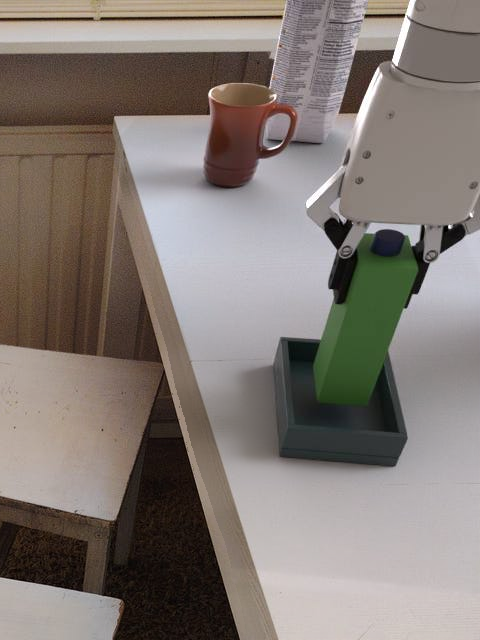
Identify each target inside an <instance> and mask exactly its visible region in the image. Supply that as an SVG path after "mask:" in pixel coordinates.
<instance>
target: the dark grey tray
mask: <svg viewBox="0 0 480 640" xmlns="http://www.w3.org/2000/svg"><path fill="white" fill-rule="evenodd" d="M320 342H321V339H320V338H305V337H304V338H303V337H291V336H290V337H289V336H280V337H279V341H278V344H277V348H276V352H275V357H274V360H273V362H272V363H273V364H272V367H273V381H274V397H275V398H274V399H275V410H276V411H275V412H276V425H277V426H276V427H277V428H276V429H277V441H278V442H277V443H278V455H279V457H280V458H293V459H304V460H314V461H315V460H317V461H330V462H339V463H351V464H352V463H354V464H364V465H374V466H375V465H378V466H389V467H396V466H397V464H398V462H399V460H400V457H401V455H402V453H403V451H404V448H405V446H406V444H407V441H408V439H409V436H408V432H407V431H408V430H407V427H406V423H405V418H404V414H403V409H402V404H401V400H400V395H399V391H398V387H397V383H396V378H395V373H394V369H393V365H392V362H391V357H390V353H389V350H388V352H387V354H386V357H385V360H384V362H383V365H382V367H381V370H380V373H379V375H378V378H377V381H376V383H375V386H374V389H373V391H372V394H371V397H370V399H369V402H368V405H367V406H357V405H344V404H330V403H318V402H317V396H316V388H315V380H314V371H313V365H314V361H315V358H316V355H317V352H318V348H319V345H320Z"/></svg>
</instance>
